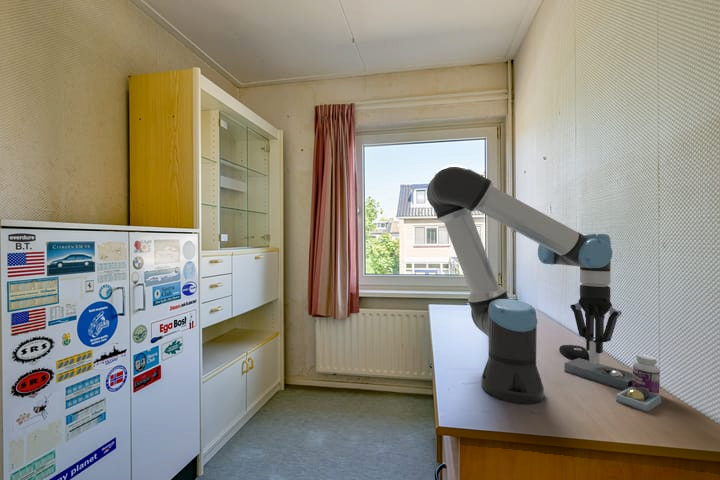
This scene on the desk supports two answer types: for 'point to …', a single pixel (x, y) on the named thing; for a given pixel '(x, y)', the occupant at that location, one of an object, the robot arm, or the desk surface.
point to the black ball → (643, 392)
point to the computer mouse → (574, 352)
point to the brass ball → (635, 395)
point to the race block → (599, 373)
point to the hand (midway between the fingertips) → (594, 362)
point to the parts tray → (644, 406)
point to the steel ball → (616, 373)
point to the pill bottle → (646, 373)
